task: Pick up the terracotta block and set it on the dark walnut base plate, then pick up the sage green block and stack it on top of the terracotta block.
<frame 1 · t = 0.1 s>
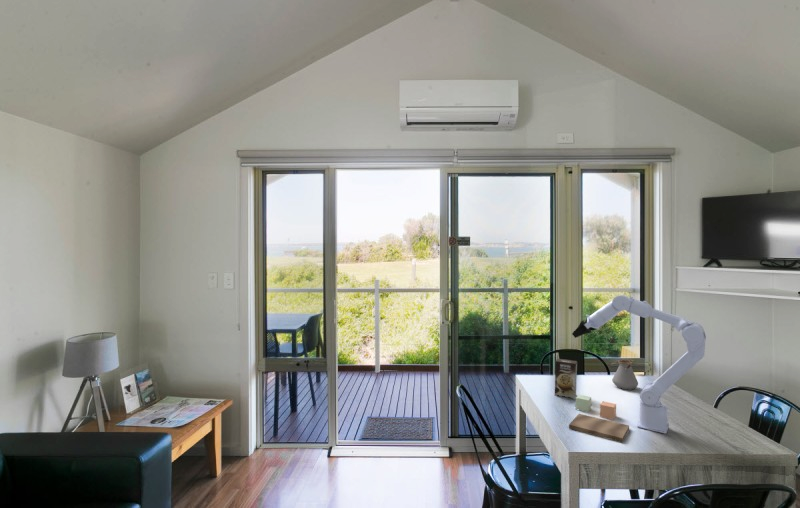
hand: (576, 334, 176), 32 cm above the table, tool tilted 50°, fingers open, 7 cm apart
terracotta block: (608, 416, 169), on the table
coffee box: (565, 395, 194), on the table
sage block: (583, 409, 177), on the table
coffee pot: (626, 390, 202), on the table
walnut base: (599, 428, 156), on the table
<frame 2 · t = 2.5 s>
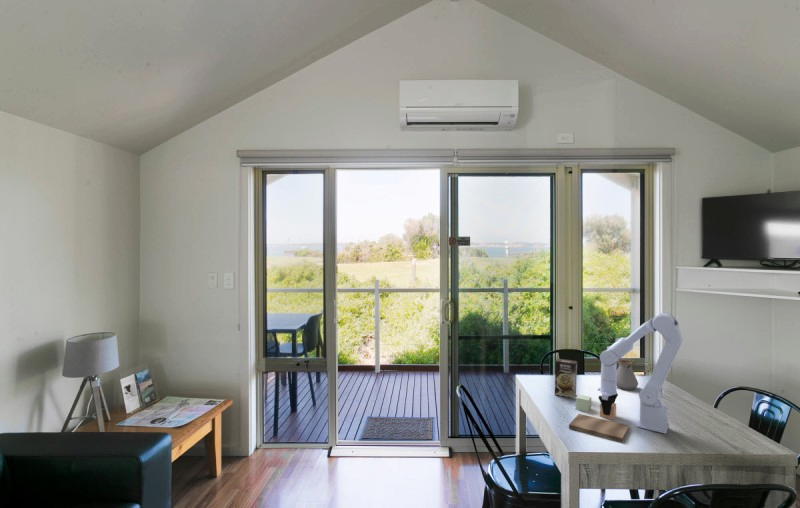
hand: (608, 412, 169), 1 cm above the table, tool pointing down, fingers closed on terracotta block, 5 cm apart
terracotta block: (607, 416, 169), on the table, touching gripper
everything else where it was.
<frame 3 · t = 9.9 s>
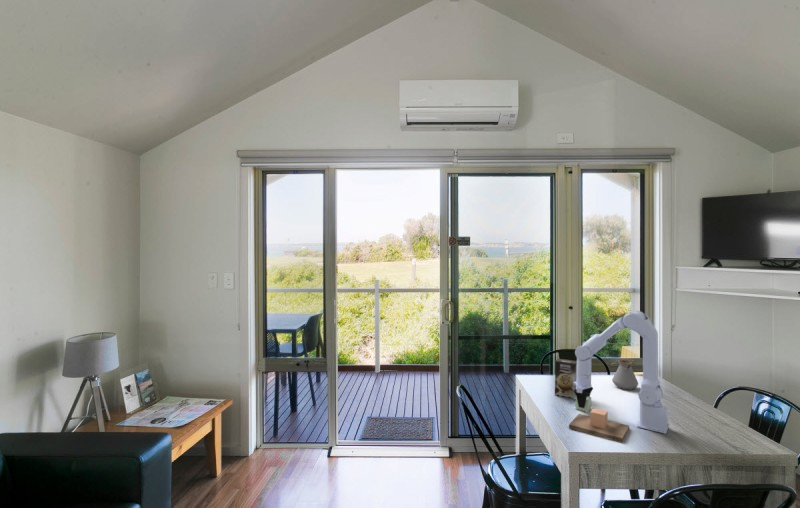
hand: (583, 405, 177), 1 cm above the table, tool pointing down, fingers closed on sage block, 5 cm apart
terracotta block: (598, 424, 156), point 1 cm above the table, touching walnut base
sage block: (583, 408, 177), on the table, touching gripper
everything else where it was.
when the fingers open (9 cm above the table, at t = 13.6 s): sage block stays where it is, resting on terracotta block.
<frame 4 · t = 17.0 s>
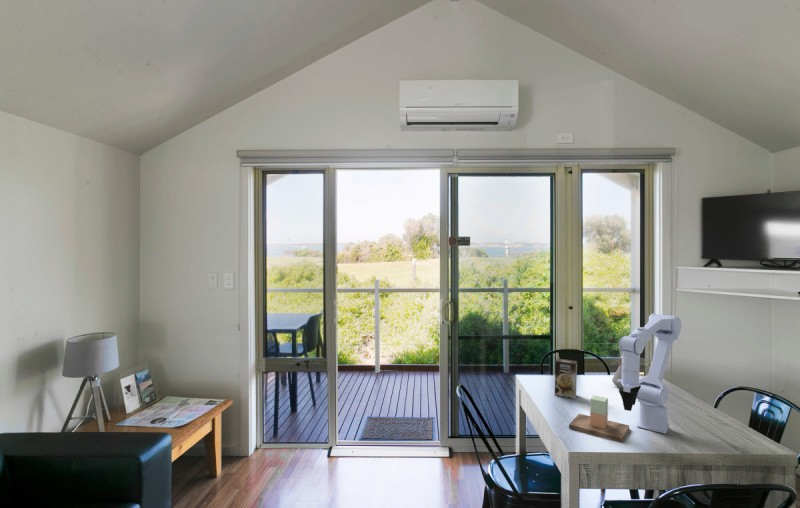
hand: (629, 407, 151), 10 cm above the table, tool pointing down, fingers open, 7 cm apart
terracotta block: (598, 424, 156), point 1 cm above the table, touching sage block, walnut base
sage block: (599, 411, 156), point 6 cm above the table, touching terracotta block
everything else where it was.
at the end: terracotta block inside the target area on the walnut base (0.1 cm from its centre), point 1.5 cm above the walnut base's base; sage block 0.1 cm off-centre on the terracotta block, point 5.0 cm above the terracotta block's base; sage block tilted 0° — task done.
